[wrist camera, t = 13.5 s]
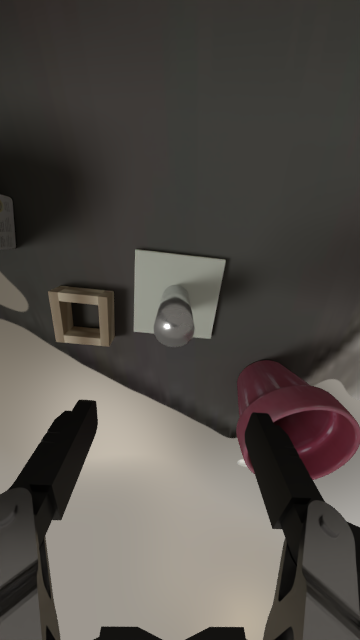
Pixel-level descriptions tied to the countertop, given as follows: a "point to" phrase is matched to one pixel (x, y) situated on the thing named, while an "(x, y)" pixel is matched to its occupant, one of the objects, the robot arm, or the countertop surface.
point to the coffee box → (7, 224)
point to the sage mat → (176, 270)
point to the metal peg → (174, 317)
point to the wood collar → (64, 318)
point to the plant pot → (298, 416)
